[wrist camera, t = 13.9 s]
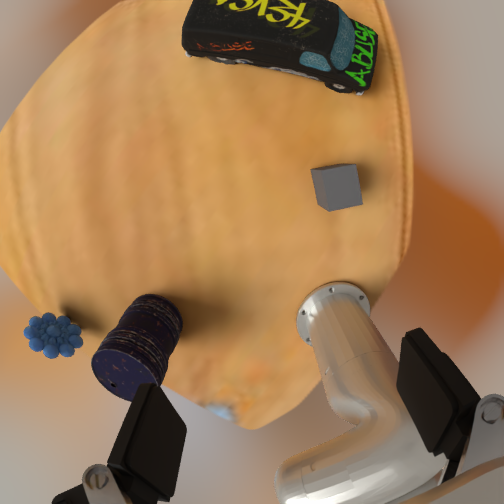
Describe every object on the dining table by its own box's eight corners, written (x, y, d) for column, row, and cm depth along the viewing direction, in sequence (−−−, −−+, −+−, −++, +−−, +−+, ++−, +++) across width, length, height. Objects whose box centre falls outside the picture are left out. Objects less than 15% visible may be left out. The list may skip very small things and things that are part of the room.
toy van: (357, 100, 32) (387, 84, 23) (187, 62, 31) (167, 35, 21) (366, 44, 29) (394, 19, 19) (206, 8, 27) (194, -27, 18)
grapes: (46, 318, 44) (15, 348, 33) (49, 295, 42) (14, 324, 31) (88, 347, 46) (61, 384, 34) (92, 326, 44) (62, 363, 33)
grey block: (347, 197, 37) (362, 204, 31) (317, 204, 37) (329, 211, 31) (340, 163, 35) (355, 164, 29) (310, 169, 35) (320, 170, 30)
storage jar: (152, 282, 41) (112, 335, 27) (195, 324, 43) (174, 388, 29) (119, 313, 43) (79, 366, 29) (159, 350, 45) (133, 410, 31)
